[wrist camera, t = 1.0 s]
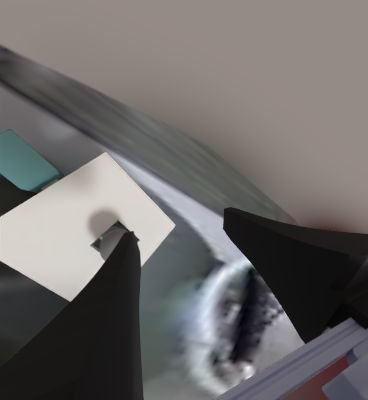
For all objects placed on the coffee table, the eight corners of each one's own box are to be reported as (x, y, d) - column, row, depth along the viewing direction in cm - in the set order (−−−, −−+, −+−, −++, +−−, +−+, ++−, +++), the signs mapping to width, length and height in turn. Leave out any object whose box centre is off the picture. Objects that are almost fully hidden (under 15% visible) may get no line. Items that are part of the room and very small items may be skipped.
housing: (163, 223, 22) (175, 225, 18) (100, 294, 17) (98, 318, 13) (106, 164, 18) (105, 151, 14) (5, 231, 13) (-37, 239, 9)
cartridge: (130, 234, 19) (136, 240, 15) (114, 251, 18) (116, 262, 14) (37, 152, 15) (10, 129, 11) (8, 166, 14) (-35, 146, 10)
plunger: (116, 262, 14) (117, 270, 12) (93, 245, 13) (91, 250, 11) (137, 240, 15) (141, 244, 13) (117, 222, 14) (119, 224, 13)
